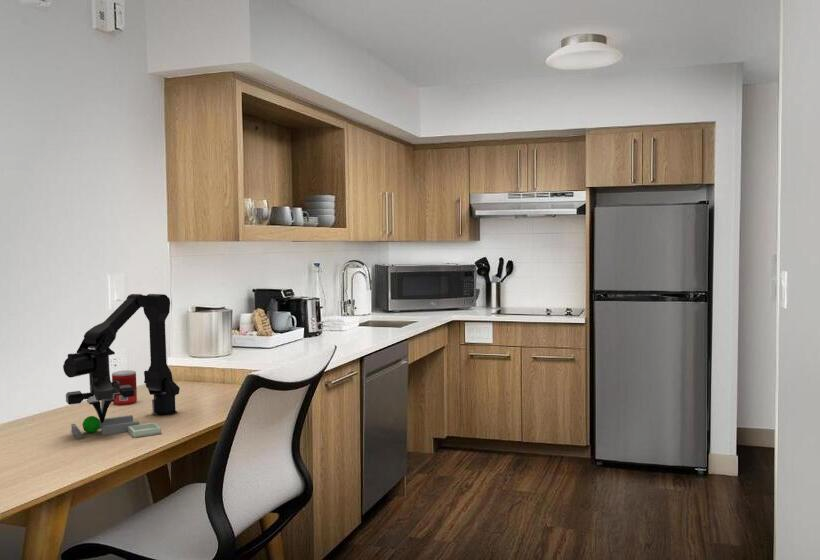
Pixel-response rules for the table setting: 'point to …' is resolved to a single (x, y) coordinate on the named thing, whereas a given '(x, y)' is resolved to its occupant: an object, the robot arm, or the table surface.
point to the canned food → (125, 379)
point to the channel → (110, 425)
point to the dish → (144, 430)
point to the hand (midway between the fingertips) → (102, 422)
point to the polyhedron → (91, 424)
